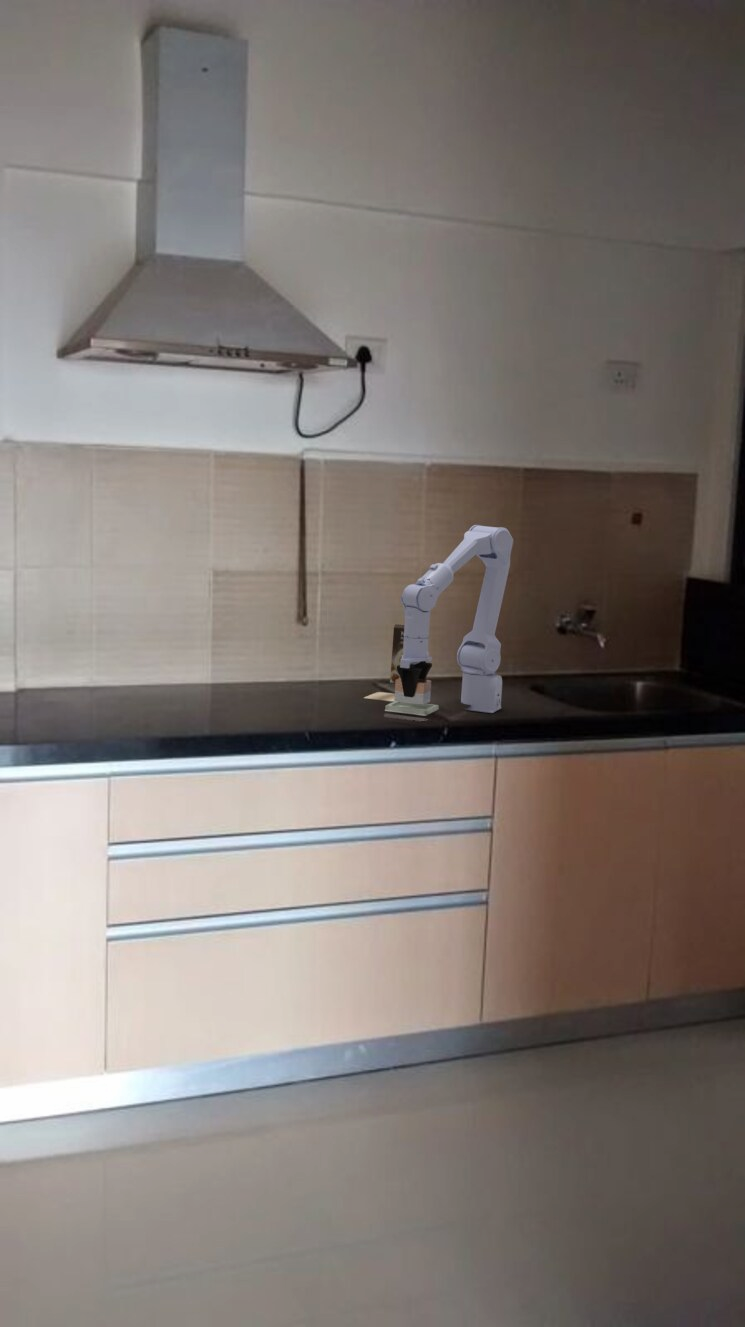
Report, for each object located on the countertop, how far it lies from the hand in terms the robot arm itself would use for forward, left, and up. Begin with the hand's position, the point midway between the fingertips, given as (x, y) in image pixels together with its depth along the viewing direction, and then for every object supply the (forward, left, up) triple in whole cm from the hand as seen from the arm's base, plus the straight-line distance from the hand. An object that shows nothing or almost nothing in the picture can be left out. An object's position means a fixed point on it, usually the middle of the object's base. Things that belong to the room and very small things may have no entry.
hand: (412, 695), depth 307 cm
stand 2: (0, 0, -5) cm, 5 cm away
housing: (0, 0, -2) cm, 2 cm away
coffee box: (+14, -36, -5) cm, 39 cm away
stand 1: (+10, -12, -5) cm, 16 cm away
